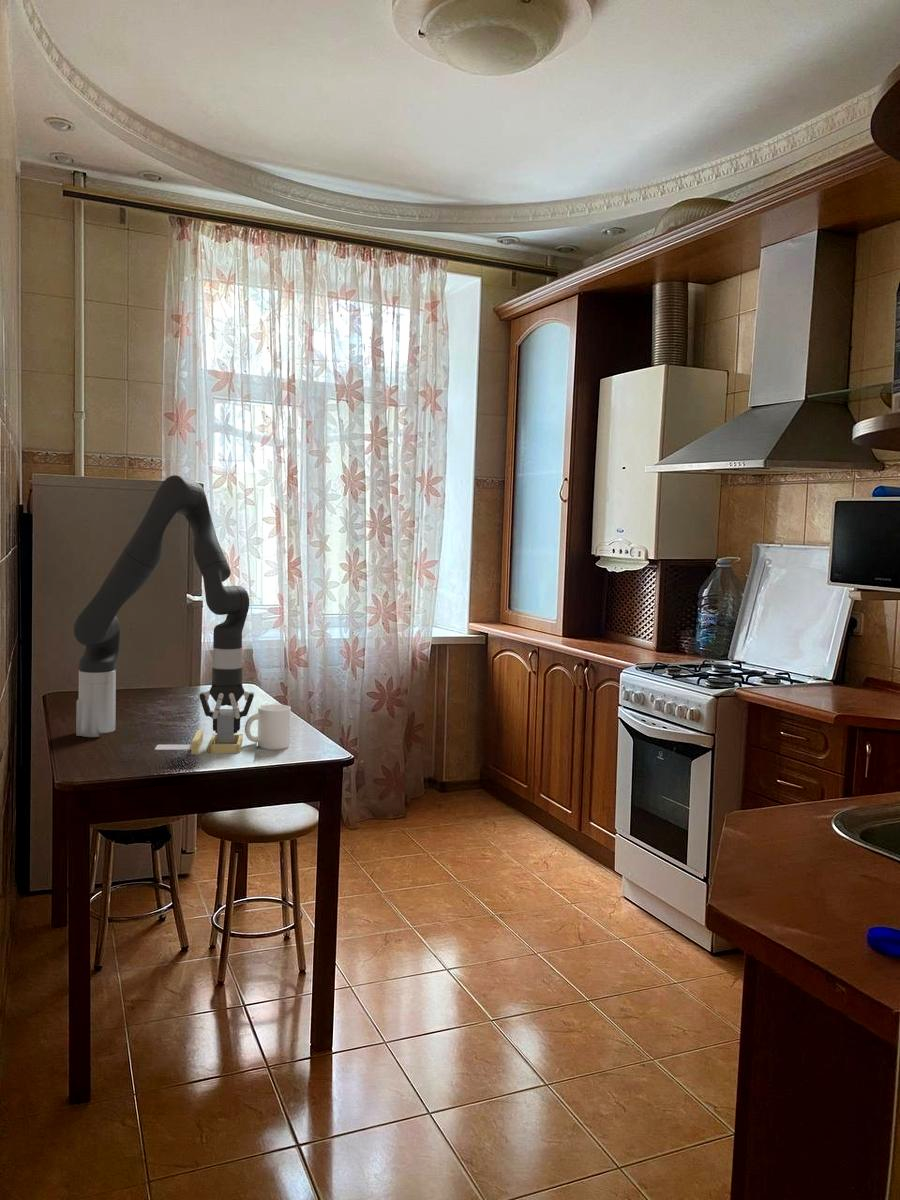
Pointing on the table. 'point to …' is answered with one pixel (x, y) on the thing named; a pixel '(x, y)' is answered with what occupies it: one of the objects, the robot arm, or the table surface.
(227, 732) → the block
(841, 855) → the table surface
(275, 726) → the mug
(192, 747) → the white fixture board
